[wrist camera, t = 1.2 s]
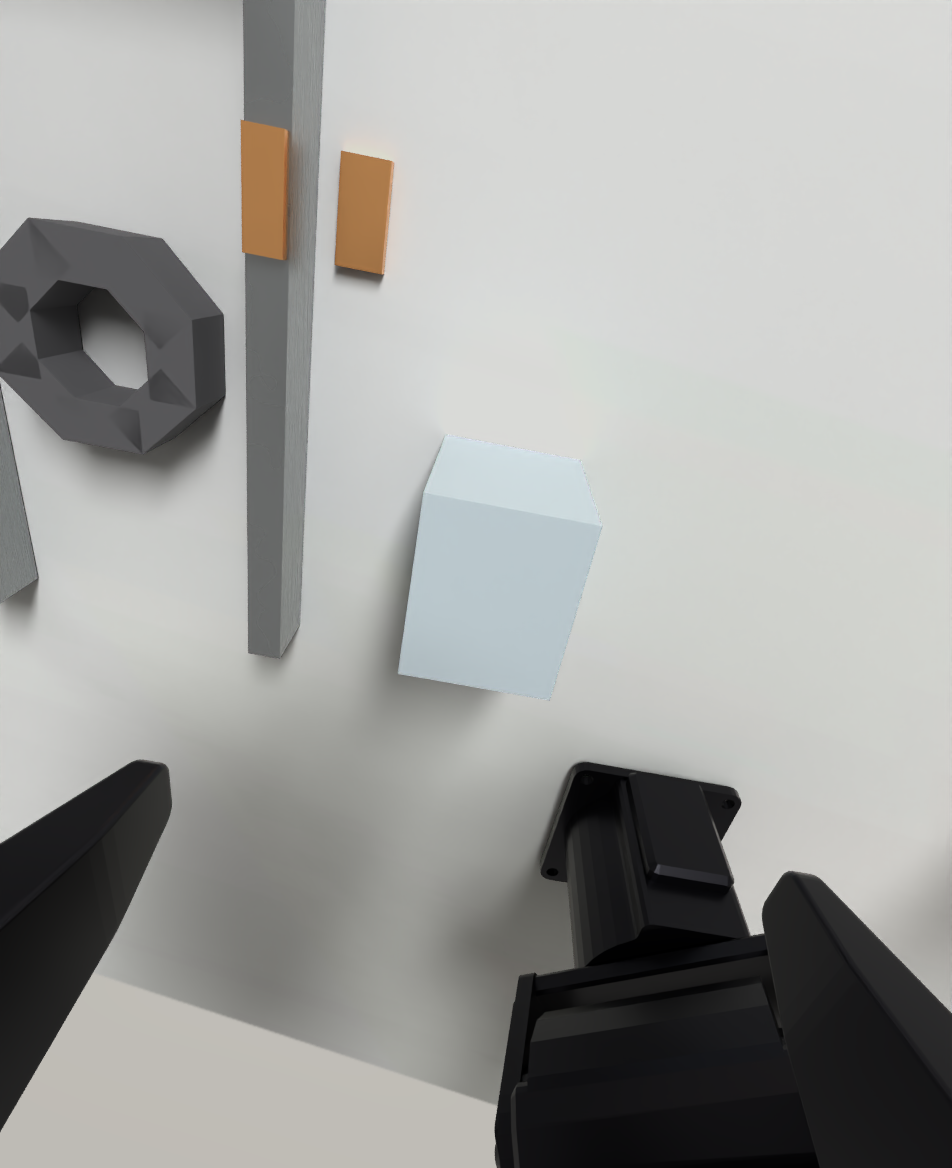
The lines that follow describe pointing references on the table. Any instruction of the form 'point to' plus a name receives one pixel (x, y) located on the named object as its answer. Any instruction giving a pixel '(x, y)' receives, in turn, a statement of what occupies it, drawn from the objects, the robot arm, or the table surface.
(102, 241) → the ring
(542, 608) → the pale blue cuboid
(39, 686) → the table surface
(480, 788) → the table surface
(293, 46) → the channel
